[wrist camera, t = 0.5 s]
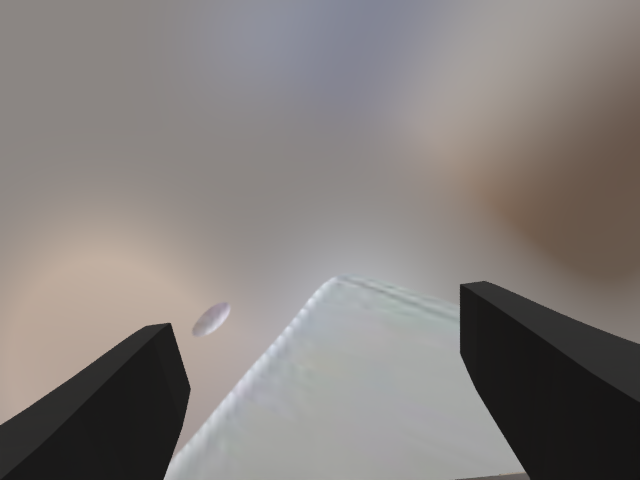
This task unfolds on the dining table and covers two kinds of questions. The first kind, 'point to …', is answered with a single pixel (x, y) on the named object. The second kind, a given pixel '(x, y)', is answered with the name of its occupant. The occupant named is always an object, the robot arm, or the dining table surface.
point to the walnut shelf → (503, 477)
